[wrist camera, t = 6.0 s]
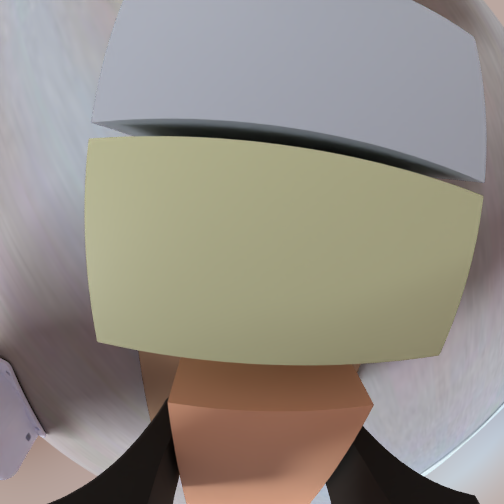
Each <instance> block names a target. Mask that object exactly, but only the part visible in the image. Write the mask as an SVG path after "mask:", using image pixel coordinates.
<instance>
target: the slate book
mask: <svg viewBox="0 0 504 504" xmlns="http://www.w3.org/2000/svg"><path fill="white" fill-rule="evenodd" d="M91 123H94V124H97V125H101V126H104V127H107V128H110V129H113V130H116V131H119V132H123V133H126V134H129V135H131V136H178V137H204V138H221V139H234V140H245V141H255V142H264V143H272V144H280V145H287V146H294V147H301V148H307V149H313V150H319V151H325V152H330V153H335V154H341V155H346V156H350V157H355V158H360V159H364V160H369V161H373V162H377V163H381V164H385V165H389V166H393V167H397V168H400V169H404V170H408V171H411V172H415V173H418V174H421V175H425V176H428V177H431V178H442V179H453V180H463V181H472V182H481V183H485V172H486V111H485V98H484V88H483V80H482V73H481V67H480V61H479V56H478V51H477V46H476V42H475V38H474V37H473V36H472V35H470V34H469V33H468V32H466V31H465V30H463V29H462V28H460V27H459V26H457V25H456V24H454V23H452V22H451V21H449V20H448V19H446V18H444V17H443V16H441V15H439V14H437V13H436V12H434V11H432V10H430V9H428V8H427V7H425V6H423V5H421V4H419V3H417V2H415V1H413V0H123V2H122V5H121V7H120V10H119V13H118V16H117V18H116V21H115V24H114V27H113V30H112V33H111V36H110V39H109V43H108V46H107V50H106V53H105V57H104V61H103V65H102V69H101V73H100V77H99V82H98V86H97V91H96V96H95V101H94V107H93V113H92V119H91Z"/></svg>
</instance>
